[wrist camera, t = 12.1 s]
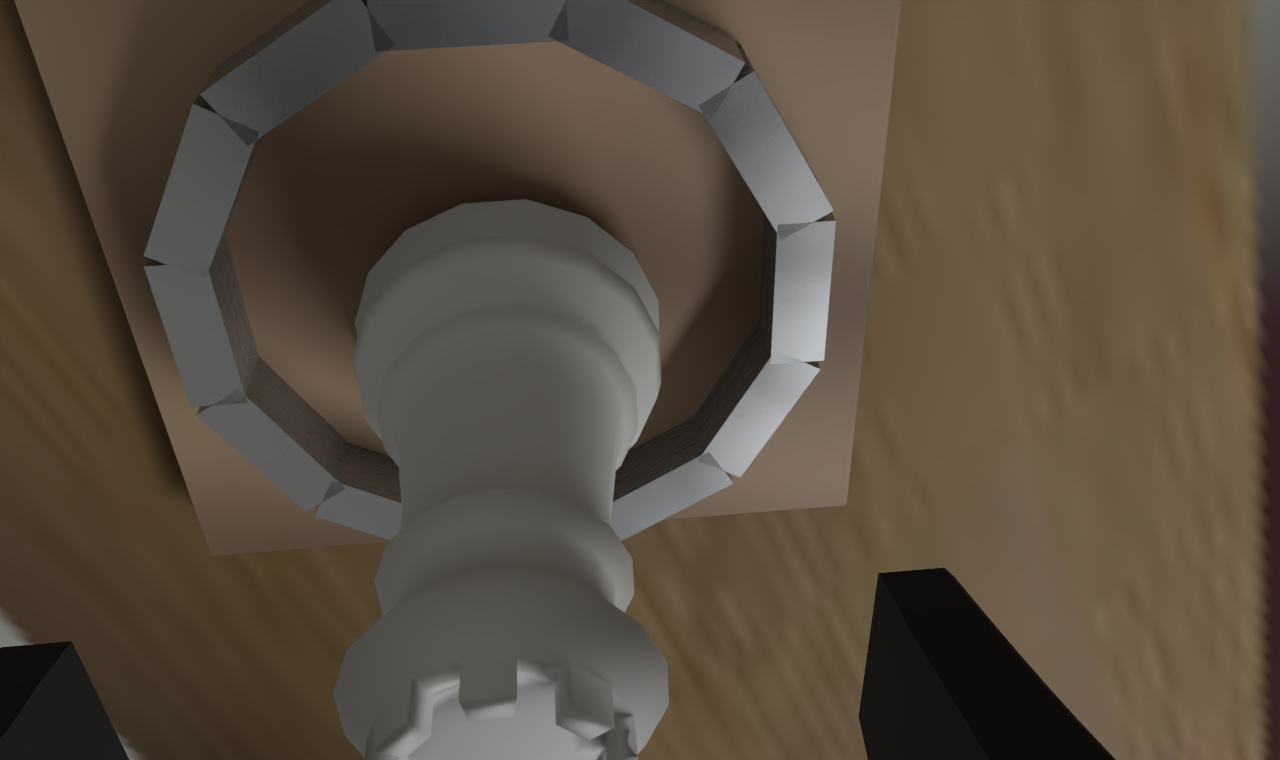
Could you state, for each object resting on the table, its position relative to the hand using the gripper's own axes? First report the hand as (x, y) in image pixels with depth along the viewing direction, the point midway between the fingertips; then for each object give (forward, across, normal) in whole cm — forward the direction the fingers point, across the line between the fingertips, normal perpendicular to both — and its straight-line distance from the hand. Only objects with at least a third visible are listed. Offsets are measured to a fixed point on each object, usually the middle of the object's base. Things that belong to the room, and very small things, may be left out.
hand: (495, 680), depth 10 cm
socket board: (+8, 0, 0) cm, 8 cm away
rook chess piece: (+8, 0, +1) cm, 8 cm away
